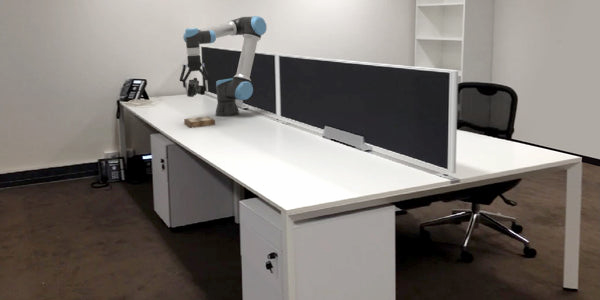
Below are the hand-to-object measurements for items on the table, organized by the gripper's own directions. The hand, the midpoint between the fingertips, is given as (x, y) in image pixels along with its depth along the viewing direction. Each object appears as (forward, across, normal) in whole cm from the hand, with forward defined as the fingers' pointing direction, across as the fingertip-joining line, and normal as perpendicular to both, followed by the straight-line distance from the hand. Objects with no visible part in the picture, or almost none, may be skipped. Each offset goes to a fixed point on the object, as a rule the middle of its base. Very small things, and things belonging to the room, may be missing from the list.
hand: (196, 92), depth 354 cm
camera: (+2, 0, -1) cm, 3 cm away
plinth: (+19, 0, 0) cm, 19 cm away
